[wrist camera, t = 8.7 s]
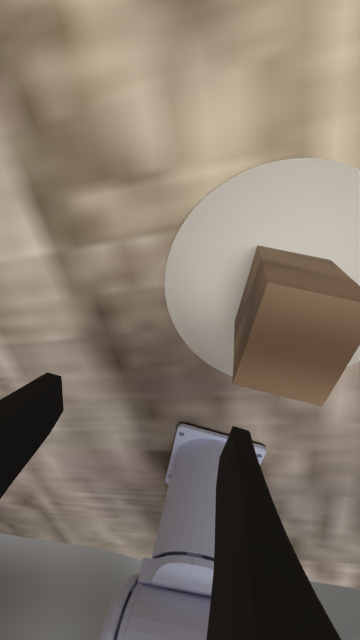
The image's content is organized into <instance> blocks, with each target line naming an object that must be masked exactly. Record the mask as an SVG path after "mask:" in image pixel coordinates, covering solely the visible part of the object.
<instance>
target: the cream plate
mask: <svg viewBox="0 0 360 640" xmlns="http://www.w3.org/2000/svg"><path fill="white" fill-rule="evenodd" d="M257 245H259V246H264V247H269V248H274V249H279V250H284V251H289V252H293V253H298V254H303V255H308V256H313V257H318V258H323V259H328V260H331V261H333V262H334V263H335V264H336V265H337V266H338V267H339V268H340V269H341V270H342V271H344V272H345V273H346V274H347V275H348V276H349V277H350V278H351V279H352V280H354V281H355V282H356V283H357V284H358V285H359V286H360V170H359V169H357V168H355V167H353V166H350V165H347V164H344V163H340V162H336V161H332V160H325V159H315V158H297V159H286V160H280V161H275V162H270V163H266V164H263V165H260V166H257V167H254V168H251V169H249V170H247V171H245V172H242V173H240V174H238V175H236V176H234V177H232V178H231V179H229V180H228V181H226V182H225V183H223V184H221V185H220V186H218V187H217V188H215V189H214V190H213V191H212V192H211V193H210V194H209V195H207V196H206V197H205V198H204V199H203V200H202V201H201V202H200V203H199V204H198V205H197V206H196V207H195V208H194V210H193V211H192V212H191V213H190V214H189V216H188V217H187V219H186V220H185V221H184V223H183V224H182V226H181V227H180V229H179V231H178V233H177V235H176V237H175V239H174V241H173V244H172V247H171V250H170V252H169V255H168V260H167V265H166V269H165V297H166V302H167V307H168V311H169V314H170V317H171V319H172V322H173V324H174V326H175V328H176V330H177V332H178V333H179V335H180V336H181V338H182V339H183V341H184V342H185V343H186V344H187V346H188V347H189V348H190V349H191V350H192V351H193V352H194V353H195V354H196V355H197V356H198V357H199V358H201V359H202V360H203V361H205V362H206V363H207V364H209V365H210V366H212V367H214V368H215V369H217V370H219V371H221V372H223V373H225V374H227V375H230V376H232V377H233V359H234V327H235V319H236V315H237V312H238V309H239V305H240V302H241V299H242V295H243V292H244V289H245V285H246V282H247V279H248V275H249V272H250V269H251V265H252V262H253V259H254V255H255V252H256V249H257ZM359 360H360V345H359V347H358V349H357V350H356V352H355V354H354V355H353V357H352V358H351V360H350V362H349V363H348V365H347V367H349V366H351V365H353V364H355V363H356V362H358V361H359ZM347 367H346V368H347Z"/></svg>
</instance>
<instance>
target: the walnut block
mask: <svg viewBox="0 0 360 640" xmlns="http://www.w3.org/2000/svg"><path fill="white" fill-rule="evenodd" d="M359 345H360V286H359V285H358V284H357V283H356V282H355V281H354V280H352V279H351V278H350V277H349V276H348V275H347V274H346V273H345V272H344V271H342V270H341V269H340V268H339V267H338V266H337V265H336V264H335V263H334V262H333V261H331V260H328V259H323V258H318V257H313V256H308V255H303V254H298V253H293V252H289V251H284V250H279V249H274V248H269V247H264V246H259V245H257V249H256V252H255V255H254V259H253V262H252V265H251V269H250V272H249V275H248V279H247V282H246V285H245V289H244V292H243V295H242V299H241V302H240V305H239V309H238V312H237V315H236V319H235V327H234V359H233V384H236V385H240V386H244V387H248V388H252V389H256V390H260V391H264V392H268V393H272V394H275V395H279V396H283V397H287V398H291V399H295V400H299V401H303V402H307V403H311V404H315V405H319V406H323V404H324V402H325V401H326V399H327V398H328V396H329V394H330V393H331V391H332V389H333V388H334V386H335V385H336V383H337V381H338V380H339V378H340V376H341V375H342V373H343V371H344V370H345V368H346V367H347V365H348V363H349V362H350V360H351V358H352V357H353V355H354V354H355V352H356V350H357V349H358V347H359Z"/></svg>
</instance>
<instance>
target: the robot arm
mask: <svg viewBox="0 0 360 640" xmlns="http://www.w3.org/2000/svg"><path fill="white" fill-rule="evenodd" d="M62 412H63V396H62V380H61V376H58V375H55V374H51V373H46V374H44V375H42V376H41V377H39V378H37V379H35V380H34V381H32V382H30V383H28V384H27V385H25V386H23V387H22V388H20V389H18V390H16V391H15V392H13V393H11V394H10V395H8V396H6V397H4V398H2V399H1V400H0V499H1V497H2V496H3V494H4V493H5V492H6V490H7V489H8V487H9V486H10V485H11V483H12V482H13V481H14V479H15V478H16V477H17V476H18V474H19V473H20V472H21V470H22V469H23V468H24V466H25V465H26V464H27V463H28V461H29V460H30V459H31V457H32V456H33V455H34V453H35V452H36V451H37V450H38V448H39V447H40V446H41V444H42V443H43V442H44V440H45V439H46V438H47V436H48V435H49V434H50V432H51V430H52V429H53V427H54V425H55V424H56V422H57V420H58V419H59V417H60V415H61V414H62ZM265 455H266V448H265V447H264V446H262V445H259V444H255V443H253V442H252V438H251V434H250V432H249V431H248V430H244V429H241V428H237V427H234V426H233V427H232V430H231V432H230V434H229V436H226V435H223V434H219V433H216V432H212V431H208V430H205V429H201V428H197V427H194V426H190V425H187V424H179V425H178V428H177V432H176V437H175V441H174V445H173V449H172V454H171V458H170V462H169V466H168V470H167V475H166V479H165V482H166V483H167V484H169V485H168V490H167V494H166V499H165V503H164V507H163V512H162V516H161V521H160V525H159V529H158V534H157V538H156V542H155V547H154V551H153V556H152V559H148V558H144V559H143V561H142V565H141V569H140V573H139V574H135V575H133V576H131V577H130V578H129V579H128V580H127V581H126V582H125V584H124V586H123V587H122V588H121V589H120V590H119V592H118V593H117V595H116V597H115V598H114V600H113V602H112V605H111V607H110V609H109V612H108V614H107V617H106V619H105V622H104V626H103V629H102V632H101V636H100V639H99V640H341V639H340V637H339V635H338V633H337V632H336V630H335V628H334V626H333V625H332V622H331V621H330V619H329V617H328V615H327V614H326V612H325V610H324V608H323V606H322V604H321V603H320V601H319V599H318V597H317V595H316V593H315V591H314V590H313V588H312V586H311V584H310V582H309V580H308V578H307V576H306V574H305V572H304V570H303V568H302V566H301V564H300V562H299V560H298V558H297V555H296V553H295V551H294V549H293V547H292V545H291V543H290V541H289V538H288V536H287V534H286V532H285V529H284V527H283V525H282V522H281V520H280V517H279V515H278V513H277V510H276V508H275V505H274V503H273V500H272V498H271V495H270V492H269V490H268V487H267V484H266V482H265V479H264V476H263V473H262V470H261V467H260V464H261V462H262V460H263V459H264V457H265Z"/></svg>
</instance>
